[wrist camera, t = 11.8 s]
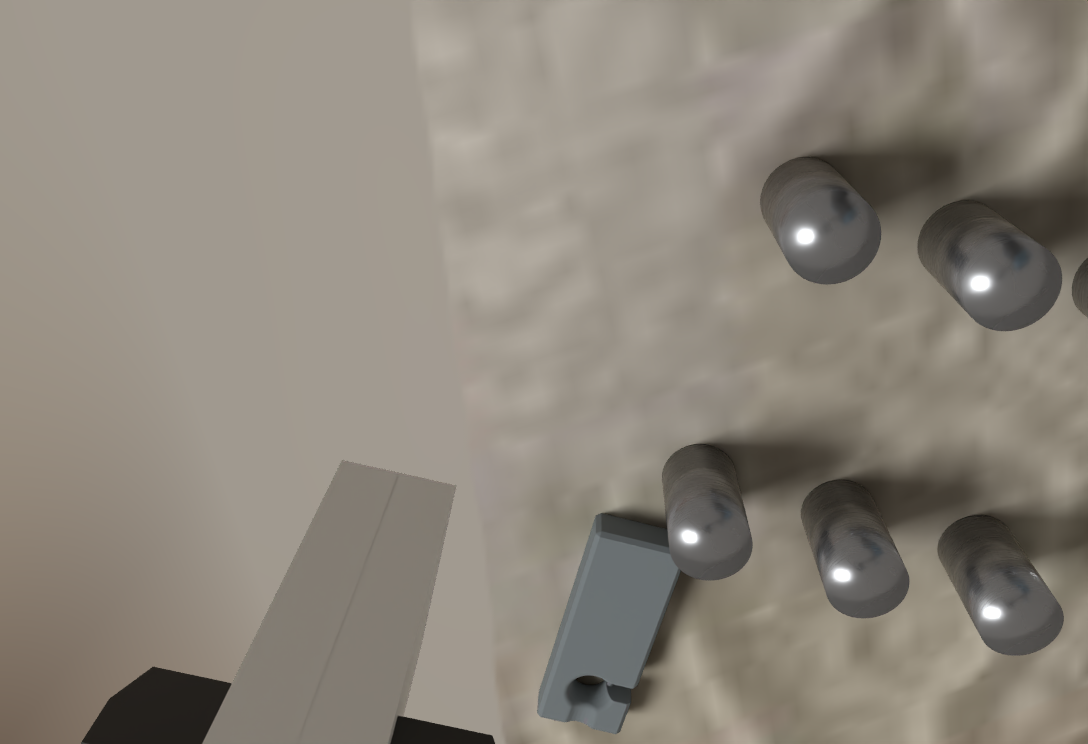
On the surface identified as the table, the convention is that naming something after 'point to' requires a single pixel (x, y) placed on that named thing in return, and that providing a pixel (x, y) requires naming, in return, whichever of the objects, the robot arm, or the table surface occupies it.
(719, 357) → the table surface
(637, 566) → the bracket
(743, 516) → the spacer field
